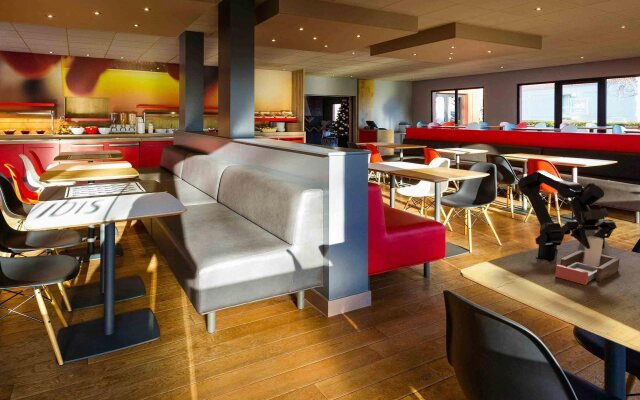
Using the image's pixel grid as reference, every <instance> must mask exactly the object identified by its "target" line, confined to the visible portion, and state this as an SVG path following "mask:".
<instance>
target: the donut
mask: <svg viewBox="0 0 640 400" xmlns="http://www.w3.org/2000/svg"><path fill="white" fill-rule="evenodd" d="M584 248H585V246H584ZM611 252H612V247H611V245H610V243H609V242H608V240H606V239H605V248H603V249H602V251H601V255H605V256H610V255H611Z"/></svg>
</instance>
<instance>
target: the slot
mask: <svg viewBox="0 0 640 400" xmlns="http://www.w3.org/2000/svg"><path fill="white" fill-rule="evenodd" d="M584 254H585V251H583V250H579V251H575V252H573V253H571V254H568V255H566V256H564V257H562V258H561V259H560V264H559V265H561V266H565V267H567V266H569V265H571V264H573V263H575V262H578V263H582V264H584V263H583V260H584ZM620 260H621V259H620V258H618V257H613V256H610V255H609V256H605V255H601V257H600V264H599V266H596V267H598V268H597V275H596V278H595V281H597V282H602V281H604V280H605V279H607V278H608V277H610V276H612V275H613V274H615V273H617V272H618V271H619V269H620V268H619V266H620Z"/></svg>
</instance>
